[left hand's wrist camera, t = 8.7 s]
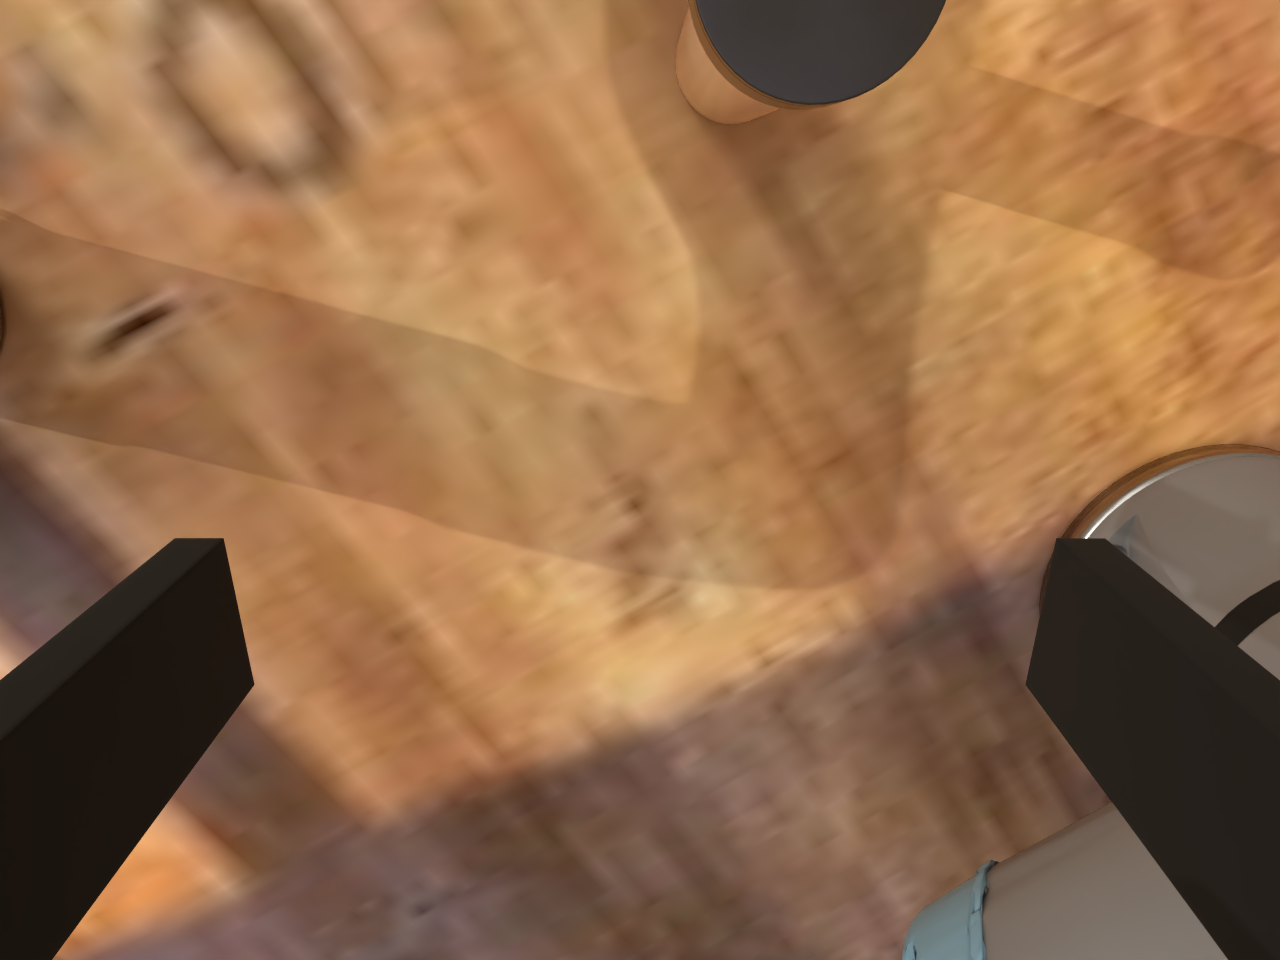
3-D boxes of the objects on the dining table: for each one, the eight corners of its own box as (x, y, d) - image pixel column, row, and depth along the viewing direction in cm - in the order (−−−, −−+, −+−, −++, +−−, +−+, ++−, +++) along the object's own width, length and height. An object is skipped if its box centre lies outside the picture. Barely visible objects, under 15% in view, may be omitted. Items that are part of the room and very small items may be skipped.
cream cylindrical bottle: (717, -33, 32) (795, -232, 16) (814, 40, 33) (980, -78, 17) (653, 81, 33) (663, 4, 17) (747, 147, 34) (840, 133, 18)
